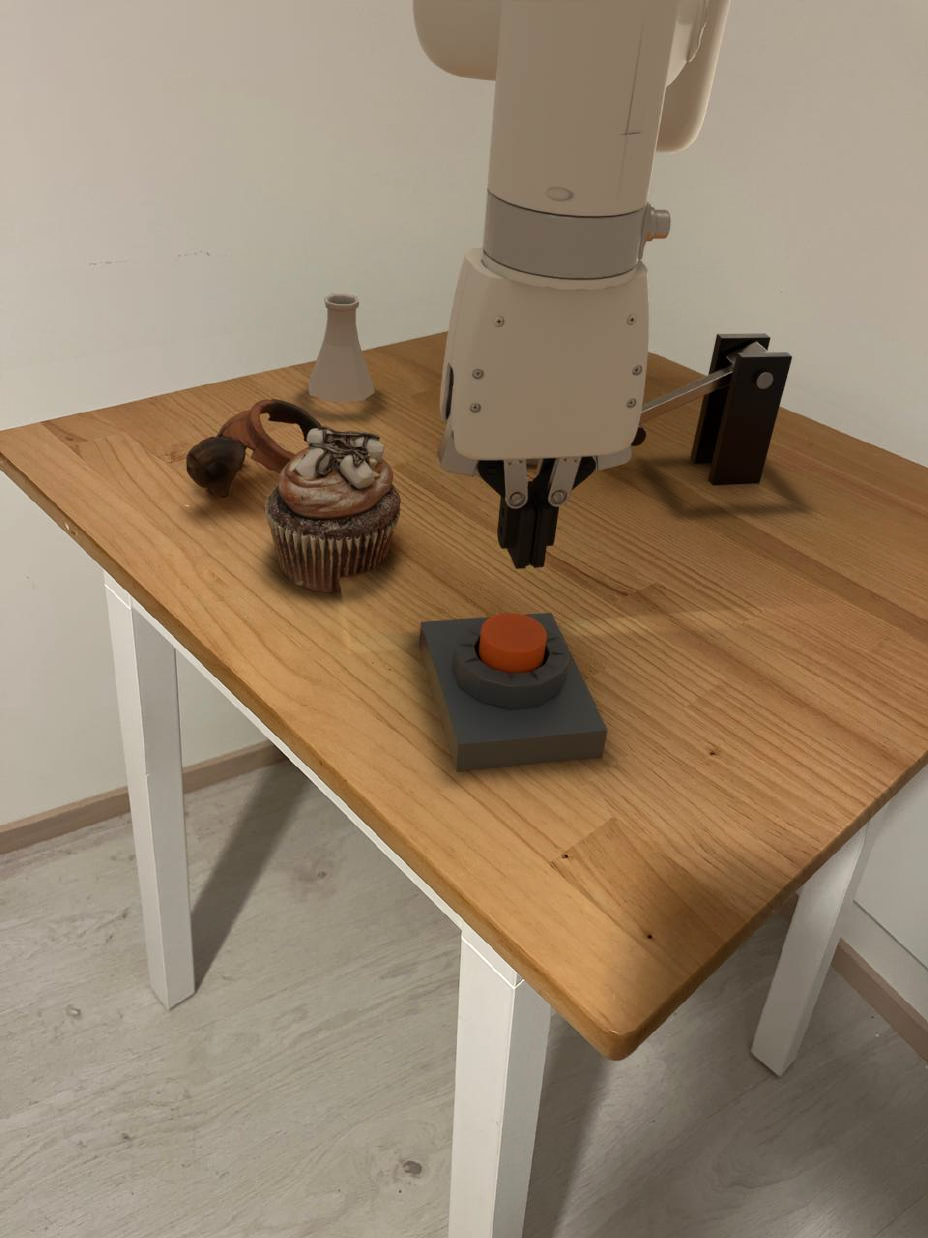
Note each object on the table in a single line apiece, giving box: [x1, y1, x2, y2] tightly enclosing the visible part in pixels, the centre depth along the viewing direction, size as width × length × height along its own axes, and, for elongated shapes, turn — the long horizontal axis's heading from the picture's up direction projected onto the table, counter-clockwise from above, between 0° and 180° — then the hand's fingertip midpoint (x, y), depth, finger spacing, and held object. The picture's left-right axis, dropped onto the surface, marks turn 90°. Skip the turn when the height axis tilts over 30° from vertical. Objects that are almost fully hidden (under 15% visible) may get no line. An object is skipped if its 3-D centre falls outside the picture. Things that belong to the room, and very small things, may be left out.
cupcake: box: [263, 425, 402, 593], centre depth 77 cm, size 10×10×10 cm
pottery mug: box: [185, 398, 323, 500], centre depth 85 cm, size 12×10×8 cm
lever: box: [631, 342, 769, 447], centre depth 88 cm, size 13×6×2 cm, turn 102°
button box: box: [418, 612, 608, 772], centre depth 67 cm, size 12×9×4 cm
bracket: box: [690, 332, 793, 486], centre depth 90 cm, size 11×9×13 cm
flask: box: [307, 293, 376, 403], centre depth 99 cm, size 7×7×10 cm
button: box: [479, 612, 547, 674], centre depth 65 cm, size 4×4×2 cm
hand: (523, 554), depth 62 cm, fingers closed
